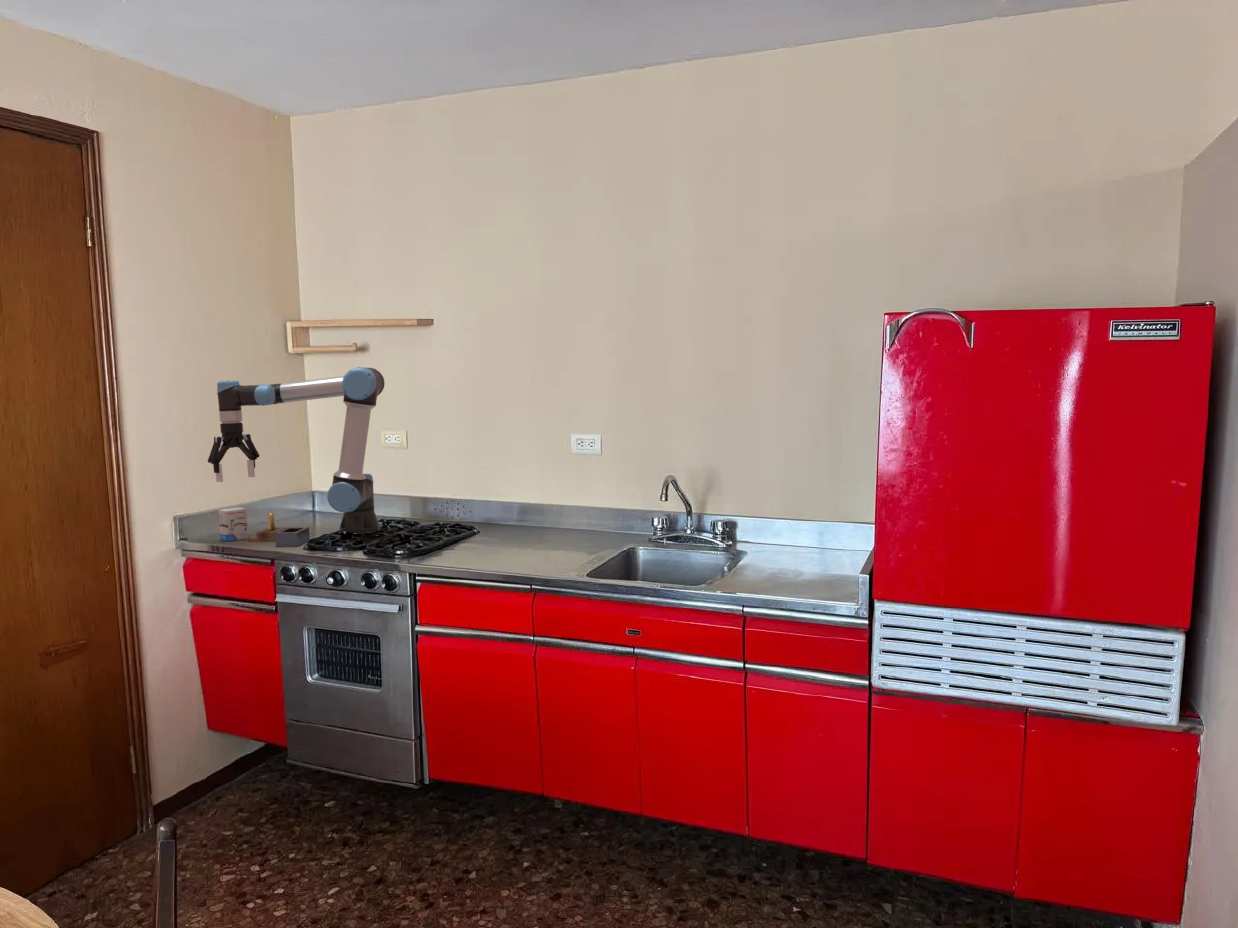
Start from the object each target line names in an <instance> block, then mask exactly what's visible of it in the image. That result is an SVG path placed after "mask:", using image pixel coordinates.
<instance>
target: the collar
mask: <svg viewBox="0 0 1238 928" xmlns="http://www.w3.org/2000/svg"><path fill="white" fill-rule="evenodd" d="M285 528H286V529H284V530H281V531H279V532H277V533H275V541H274V542H275V548H286V547H287V548H289V547H291V548H292V547H293V548H294V547H295V548H296V547H297V548H298V547H300V546H301V545H304V544H305V543H308V542H309V541H310V540H311V538H310V527H307V526H305V527H302V526H301V527H285Z"/></svg>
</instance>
